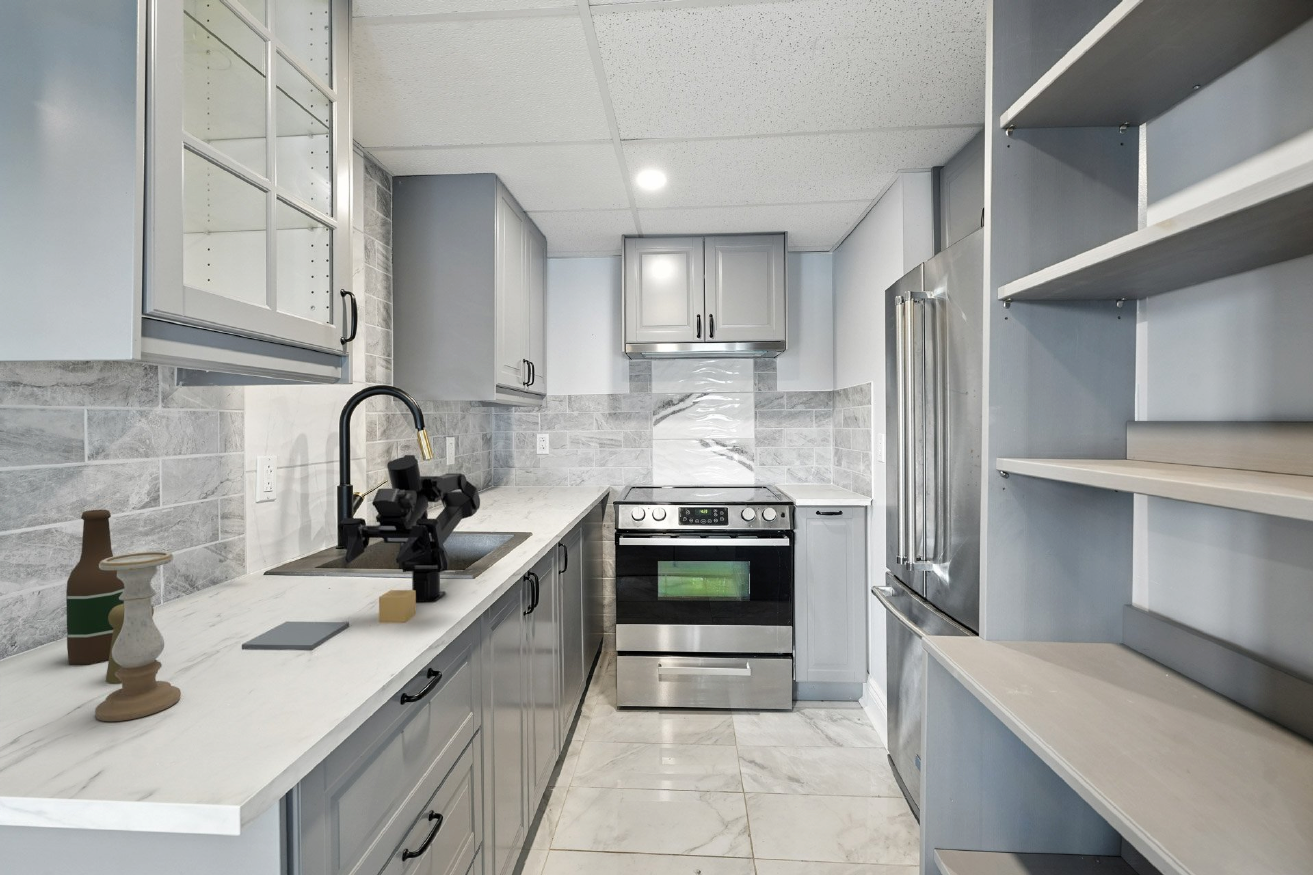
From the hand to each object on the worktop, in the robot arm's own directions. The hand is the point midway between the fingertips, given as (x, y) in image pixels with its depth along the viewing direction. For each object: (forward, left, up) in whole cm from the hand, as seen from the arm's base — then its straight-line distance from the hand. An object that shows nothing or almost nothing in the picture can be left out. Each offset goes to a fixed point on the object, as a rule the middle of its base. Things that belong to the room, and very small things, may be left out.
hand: (372, 561), depth 109 cm
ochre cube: (-10, 0, -14) cm, 17 cm away
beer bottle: (+11, -40, -14) cm, 44 cm away
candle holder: (+28, -18, -14) cm, 36 cm away
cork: (+18, -28, -14) cm, 36 cm away
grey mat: (+1, -13, -14) cm, 19 cm away
